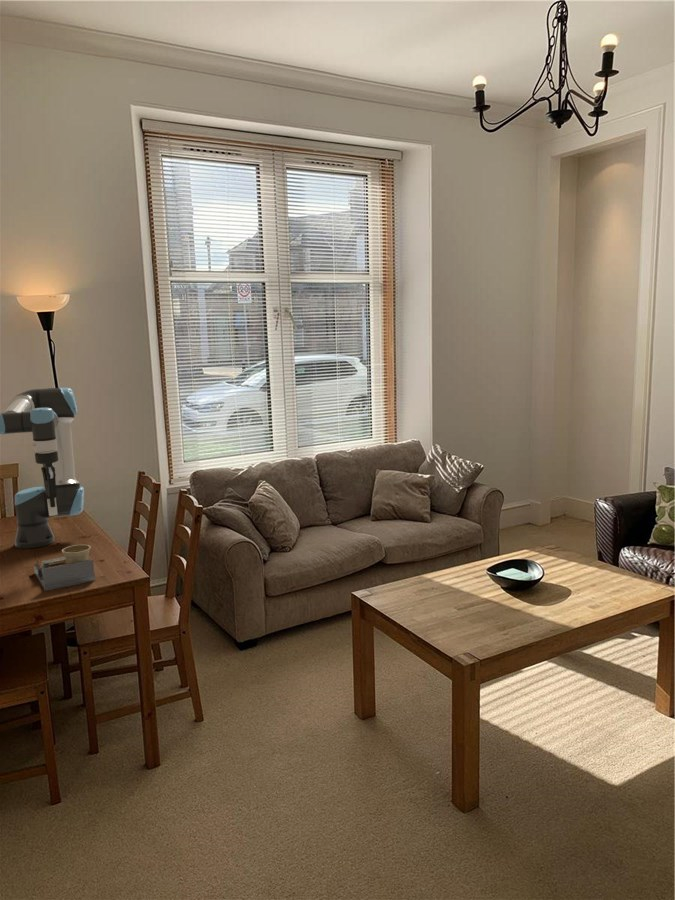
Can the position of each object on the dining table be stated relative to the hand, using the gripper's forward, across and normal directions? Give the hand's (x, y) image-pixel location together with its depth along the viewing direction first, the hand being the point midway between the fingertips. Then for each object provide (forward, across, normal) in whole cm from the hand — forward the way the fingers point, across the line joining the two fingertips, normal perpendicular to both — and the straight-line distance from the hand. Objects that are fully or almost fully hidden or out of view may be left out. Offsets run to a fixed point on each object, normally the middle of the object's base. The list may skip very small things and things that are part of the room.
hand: (53, 514), depth 240 cm
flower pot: (+18, +16, +4) cm, 24 cm away
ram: (+18, +10, -1) cm, 21 cm away
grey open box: (+20, +12, -1) cm, 23 cm away
